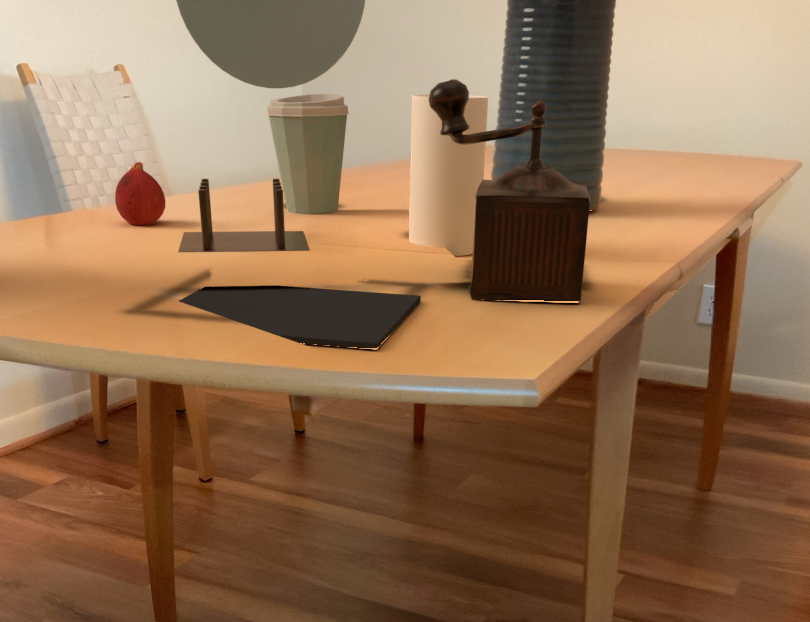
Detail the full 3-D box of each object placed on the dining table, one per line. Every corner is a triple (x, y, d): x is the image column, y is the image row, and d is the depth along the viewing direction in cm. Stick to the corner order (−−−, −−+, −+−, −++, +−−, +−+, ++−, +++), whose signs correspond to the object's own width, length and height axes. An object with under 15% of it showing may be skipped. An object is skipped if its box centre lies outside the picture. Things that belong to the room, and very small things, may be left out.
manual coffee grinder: (577, 279, 93) (597, 81, 85) (582, 305, 83) (606, 85, 75) (425, 272, 95) (430, 78, 86) (413, 298, 85) (418, 81, 76)
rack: (310, 259, 99) (308, 191, 96) (178, 261, 97) (171, 191, 94) (303, 239, 110) (301, 177, 106) (184, 240, 108) (178, 177, 104)
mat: (136, 330, 74) (135, 323, 73) (216, 287, 87) (215, 280, 87) (377, 351, 70) (377, 343, 69) (420, 302, 84) (420, 295, 83)
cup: (453, 259, 101) (460, 98, 93) (394, 249, 105) (396, 95, 98) (493, 248, 107) (502, 96, 99) (435, 240, 111) (440, 93, 103)
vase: (622, 209, 135) (653, -43, 120) (551, 220, 125) (575, -53, 111) (537, 196, 146) (556, -37, 131) (465, 205, 136) (477, -46, 121)
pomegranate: (133, 237, 109) (124, 165, 105) (110, 230, 112) (101, 160, 109) (176, 232, 112) (170, 162, 108) (153, 226, 116) (146, 158, 112)
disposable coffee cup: (318, 226, 118) (315, 97, 110) (254, 218, 123) (247, 94, 115) (365, 216, 125) (365, 95, 118) (303, 208, 130) (299, 92, 123)
